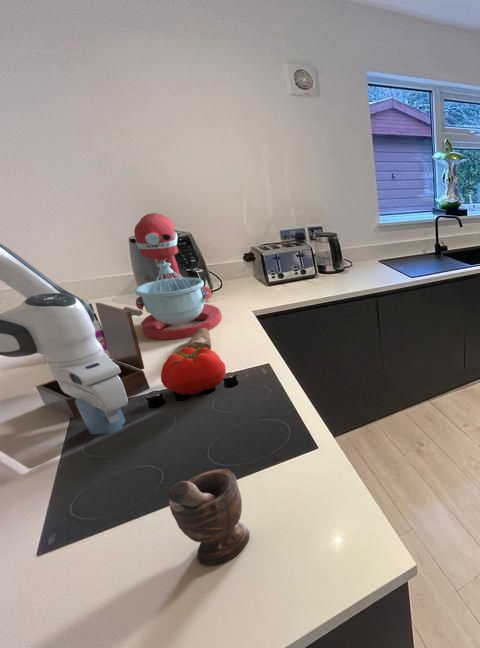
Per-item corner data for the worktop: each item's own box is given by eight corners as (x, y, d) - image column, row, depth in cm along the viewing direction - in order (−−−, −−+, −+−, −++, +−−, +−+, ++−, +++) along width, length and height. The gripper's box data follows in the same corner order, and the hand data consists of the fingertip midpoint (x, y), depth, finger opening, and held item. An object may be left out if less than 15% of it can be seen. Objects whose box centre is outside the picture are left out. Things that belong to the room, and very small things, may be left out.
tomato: (234, 388, 112) (224, 351, 108) (170, 408, 103) (156, 369, 98) (224, 371, 121) (214, 336, 116) (164, 387, 112) (150, 350, 107)
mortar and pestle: (264, 560, 66) (235, 467, 58) (200, 597, 60) (159, 498, 53) (246, 517, 73) (219, 429, 66) (188, 546, 68) (150, 453, 60)
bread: (188, 360, 126) (183, 344, 124) (195, 338, 141) (190, 323, 139) (212, 356, 129) (207, 340, 127) (216, 334, 144) (212, 320, 142)
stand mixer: (139, 347, 133) (94, 227, 118) (146, 317, 157) (109, 213, 141) (224, 331, 147) (194, 221, 131) (219, 305, 170) (193, 209, 154)
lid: (126, 312, 102) (150, 307, 107) (95, 303, 107) (119, 298, 112) (141, 369, 107) (163, 362, 112) (110, 358, 112) (132, 352, 117)
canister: (99, 439, 91) (84, 407, 88) (84, 432, 94) (68, 400, 90) (132, 424, 97) (119, 392, 93) (117, 417, 99) (104, 386, 96)
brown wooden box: (76, 422, 97) (66, 400, 95) (46, 407, 102) (35, 386, 100) (150, 390, 110) (143, 370, 108) (120, 378, 115) (112, 359, 113)
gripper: (36, 361, 89) (61, 412, 95) (86, 381, 82) (110, 435, 88) (73, 349, 95) (95, 398, 100) (123, 368, 88) (144, 419, 93)
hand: (103, 416), depth 94 cm, fingers open, 7 cm apart
